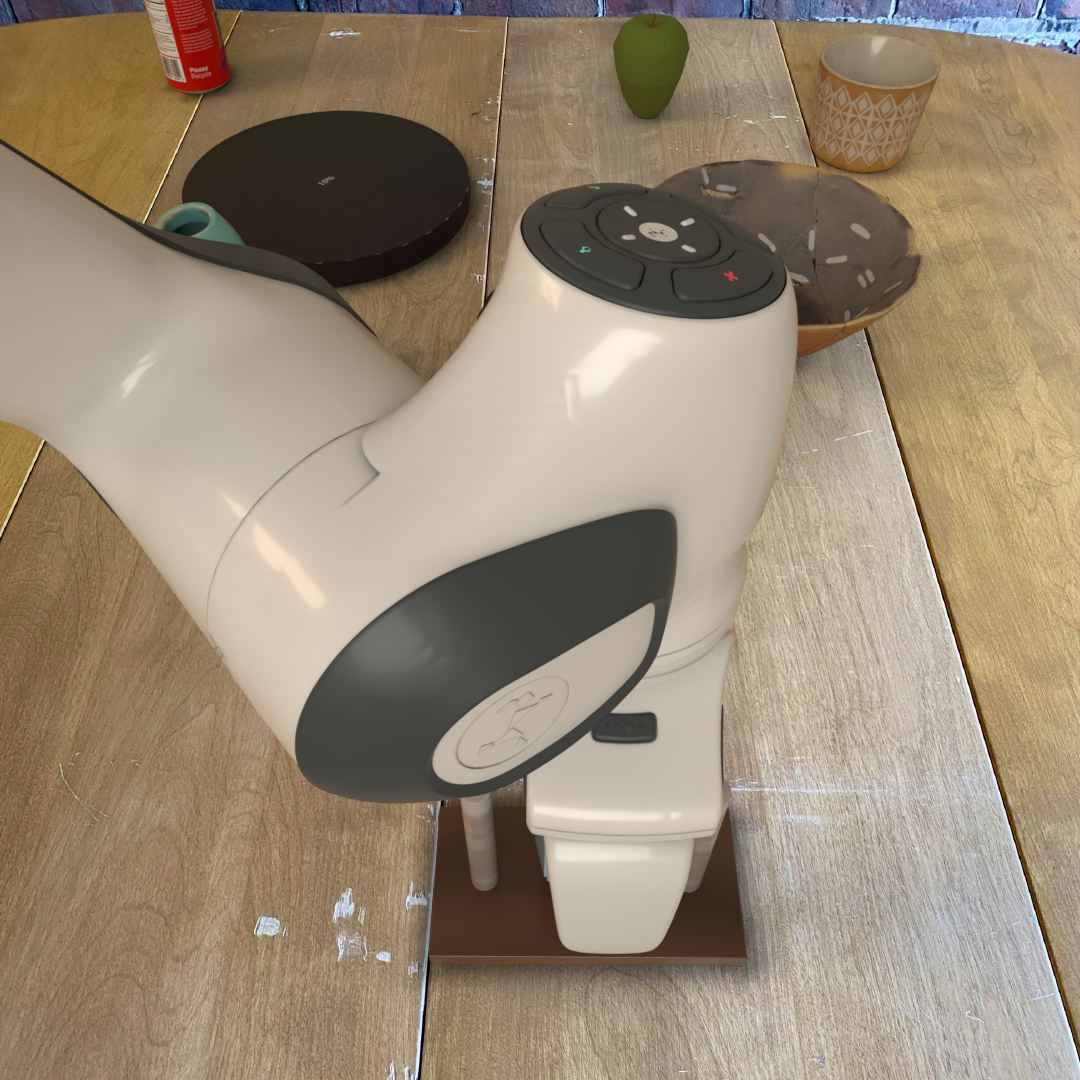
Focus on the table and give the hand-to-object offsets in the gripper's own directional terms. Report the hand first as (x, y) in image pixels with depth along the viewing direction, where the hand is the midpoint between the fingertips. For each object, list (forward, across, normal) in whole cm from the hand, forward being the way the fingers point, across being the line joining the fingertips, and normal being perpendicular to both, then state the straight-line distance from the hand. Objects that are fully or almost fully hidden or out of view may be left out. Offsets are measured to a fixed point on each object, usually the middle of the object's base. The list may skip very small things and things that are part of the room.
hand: (594, 774), depth 48 cm
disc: (+15, -74, -25) cm, 80 cm away
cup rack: (+16, 0, 0) cm, 16 cm away
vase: (+16, -44, -29) cm, 55 cm away
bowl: (+15, -54, +18) cm, 59 cm away
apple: (+15, -94, +10) cm, 96 cm away
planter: (+15, -86, +34) cm, 93 cm away
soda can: (+15, -101, -46) cm, 112 cm away
